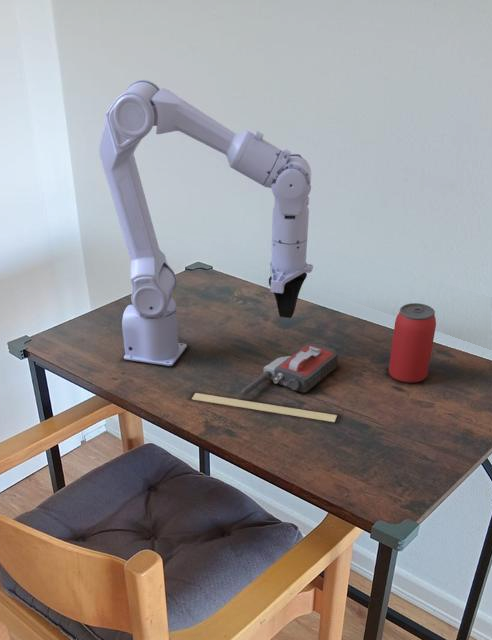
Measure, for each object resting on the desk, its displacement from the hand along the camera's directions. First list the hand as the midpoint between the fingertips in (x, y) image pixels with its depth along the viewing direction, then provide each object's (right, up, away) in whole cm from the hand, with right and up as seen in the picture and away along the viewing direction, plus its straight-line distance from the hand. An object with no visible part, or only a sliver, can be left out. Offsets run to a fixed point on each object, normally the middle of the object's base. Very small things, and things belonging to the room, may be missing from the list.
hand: (286, 315), depth 129 cm
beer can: (+21, -10, 0) cm, 23 cm away
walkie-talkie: (+1, -12, -1) cm, 12 cm away
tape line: (-5, -17, -7) cm, 19 cm away
